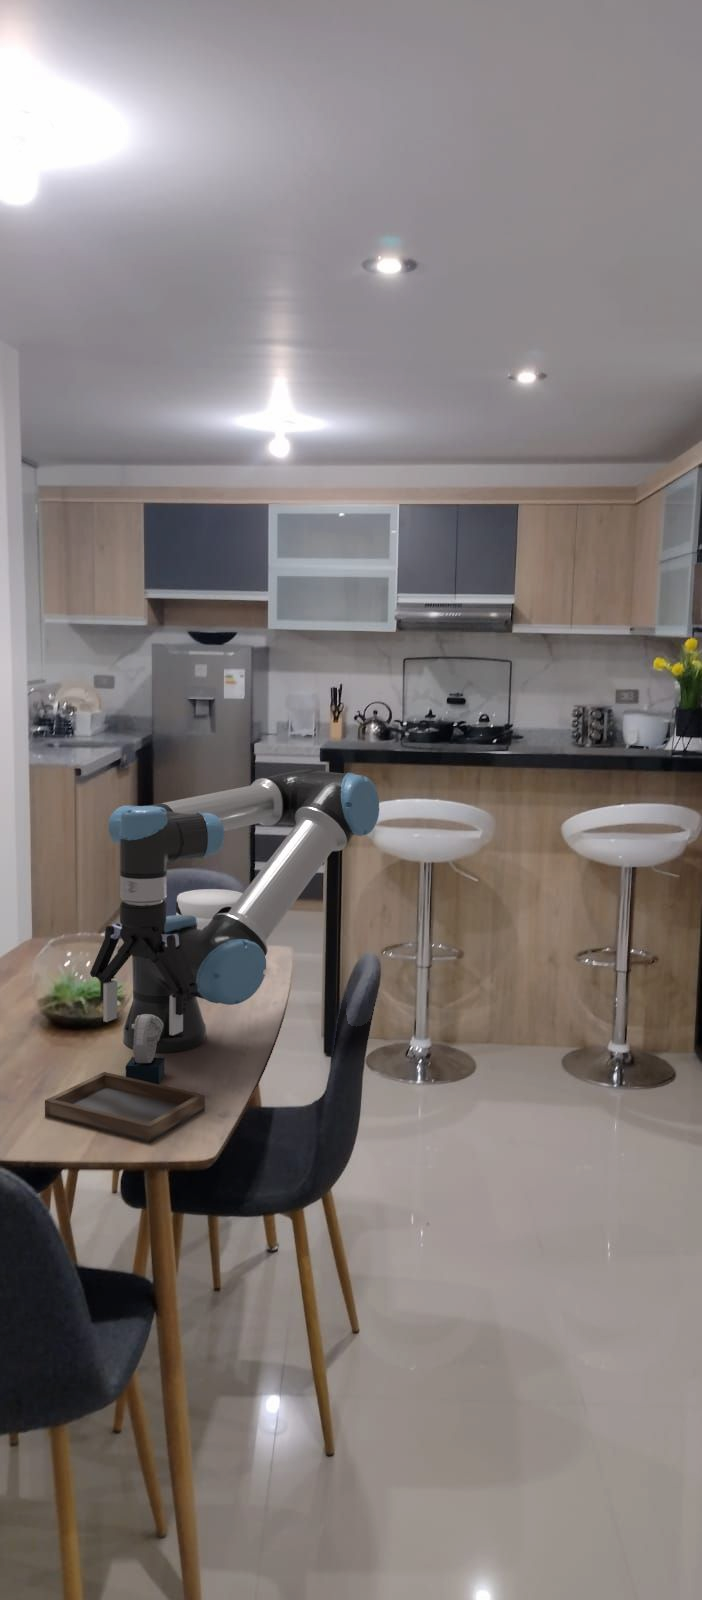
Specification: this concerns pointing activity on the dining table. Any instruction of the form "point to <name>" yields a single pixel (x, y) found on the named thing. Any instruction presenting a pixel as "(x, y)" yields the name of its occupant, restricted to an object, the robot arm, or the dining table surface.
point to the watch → (146, 1050)
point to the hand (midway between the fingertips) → (142, 1026)
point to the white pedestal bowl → (206, 904)
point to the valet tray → (125, 1106)
